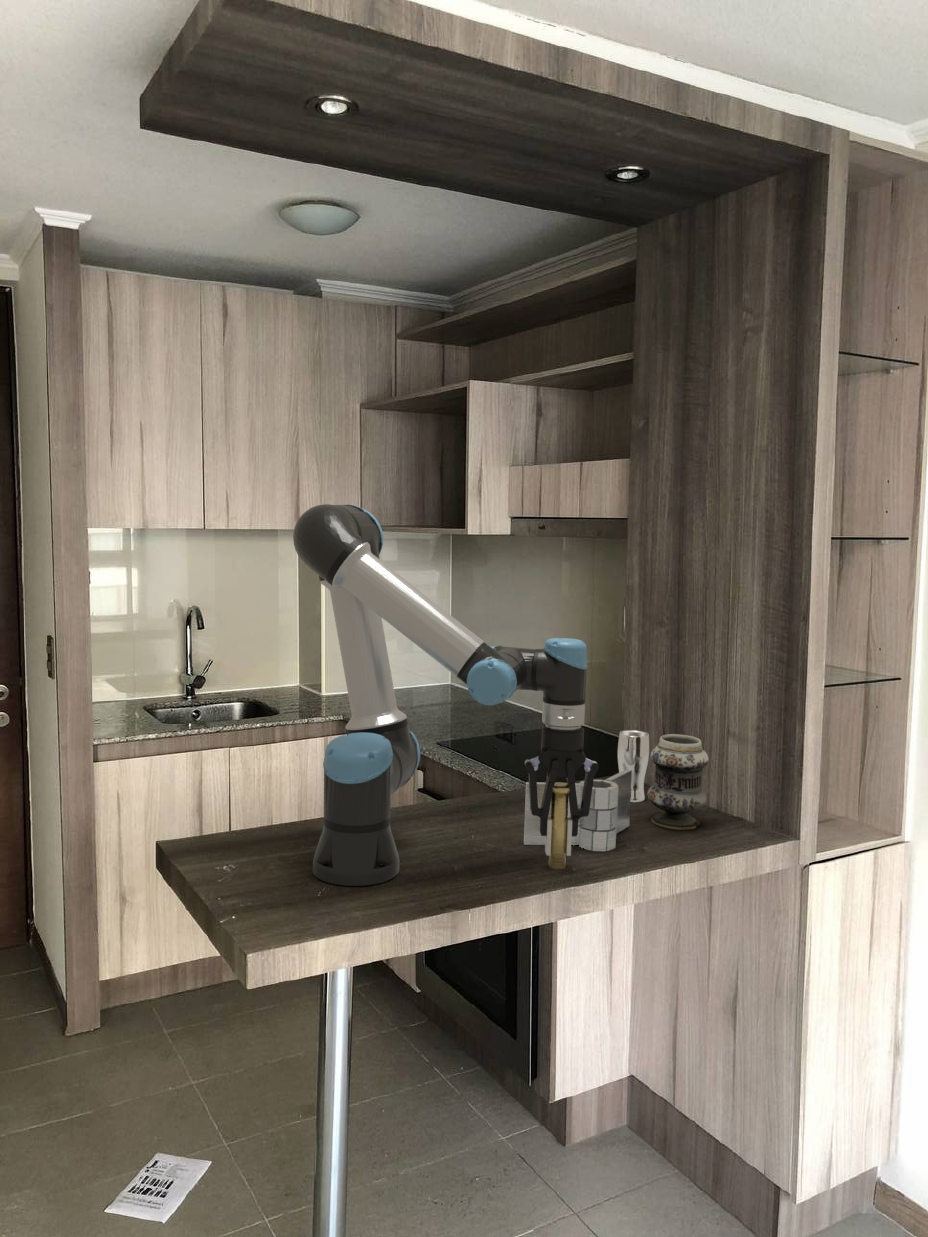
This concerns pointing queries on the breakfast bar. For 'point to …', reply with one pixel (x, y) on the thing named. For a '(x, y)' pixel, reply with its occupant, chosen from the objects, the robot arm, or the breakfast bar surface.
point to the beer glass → (634, 759)
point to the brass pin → (559, 825)
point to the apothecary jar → (678, 781)
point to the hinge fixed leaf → (586, 838)
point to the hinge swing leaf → (616, 815)
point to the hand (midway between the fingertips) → (557, 852)
